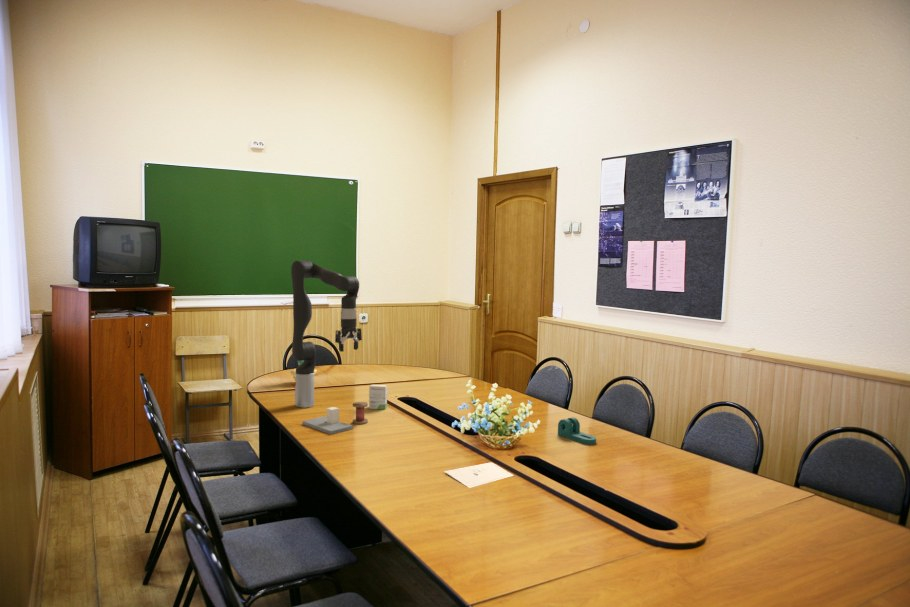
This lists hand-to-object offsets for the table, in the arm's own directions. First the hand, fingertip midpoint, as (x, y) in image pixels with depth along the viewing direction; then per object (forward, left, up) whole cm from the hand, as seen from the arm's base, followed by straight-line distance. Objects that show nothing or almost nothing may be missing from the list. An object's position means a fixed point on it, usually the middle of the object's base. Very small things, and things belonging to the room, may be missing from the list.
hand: (348, 350), depth 292 cm
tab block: (+9, -16, -32) cm, 37 cm away
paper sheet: (+103, -17, -33) cm, 109 cm away
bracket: (+101, +48, -32) cm, 116 cm away
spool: (+14, -4, -32) cm, 35 cm away
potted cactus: (-75, +24, -32) cm, 85 cm away
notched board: (+9, -19, -32) cm, 38 cm away
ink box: (0, +19, -32) cm, 37 cm away
